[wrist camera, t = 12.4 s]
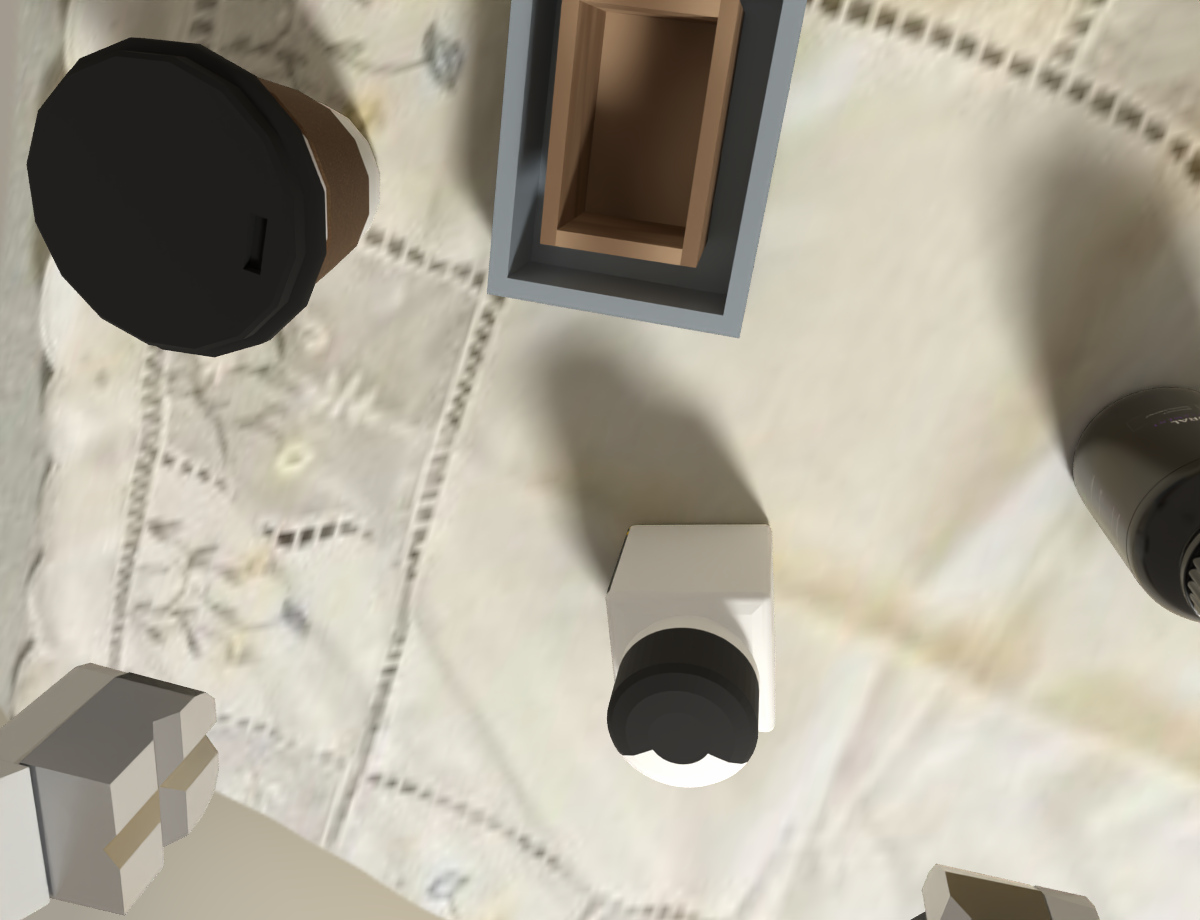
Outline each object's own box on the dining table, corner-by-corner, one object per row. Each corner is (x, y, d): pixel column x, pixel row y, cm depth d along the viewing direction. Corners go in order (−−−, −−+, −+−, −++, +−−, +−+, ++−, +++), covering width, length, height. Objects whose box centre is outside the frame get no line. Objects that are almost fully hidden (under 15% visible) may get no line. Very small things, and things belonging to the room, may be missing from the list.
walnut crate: (745, 12, 36) (739, -1, 30) (707, 242, 39) (696, 267, 34) (596, -6, 36) (564, -22, 31) (572, 221, 40) (539, 243, 35)
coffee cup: (454, 92, 39) (330, 95, 29) (405, 325, 44) (283, 405, 33) (222, 15, 40) (13, -11, 29) (197, 253, 44) (9, 309, 34)
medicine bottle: (627, 522, 46) (581, 659, 35) (772, 521, 44) (770, 663, 34) (639, 642, 48) (599, 805, 38) (775, 645, 47) (774, 815, 36)
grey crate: (811, -27, 35) (815, -42, 31) (742, 312, 41) (739, 338, 37) (547, -62, 37) (517, -80, 32) (515, 273, 42) (486, 293, 38)
